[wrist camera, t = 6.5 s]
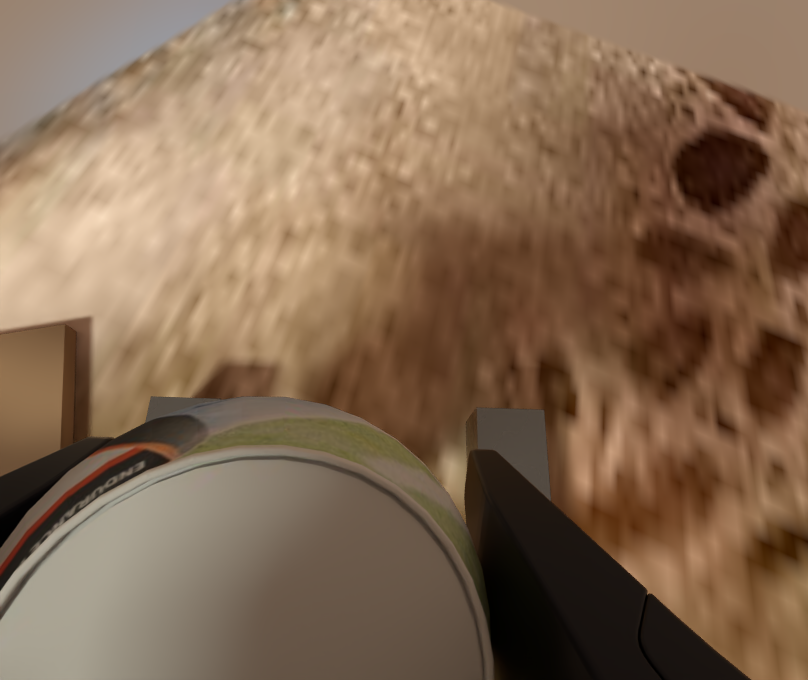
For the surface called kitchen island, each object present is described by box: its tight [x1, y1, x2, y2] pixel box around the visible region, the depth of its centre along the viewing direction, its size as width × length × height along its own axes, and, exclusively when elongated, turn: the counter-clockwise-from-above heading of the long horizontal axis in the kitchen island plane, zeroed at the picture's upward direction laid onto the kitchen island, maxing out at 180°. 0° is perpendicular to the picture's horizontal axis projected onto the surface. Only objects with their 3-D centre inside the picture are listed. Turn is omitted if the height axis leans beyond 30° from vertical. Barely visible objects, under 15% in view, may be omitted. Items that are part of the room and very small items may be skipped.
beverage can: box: [0, 397, 494, 680], centre depth 10 cm, size 6×7×12 cm
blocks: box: [145, 397, 551, 501], centre depth 17 cm, size 9×14×2 cm, turn 89°
